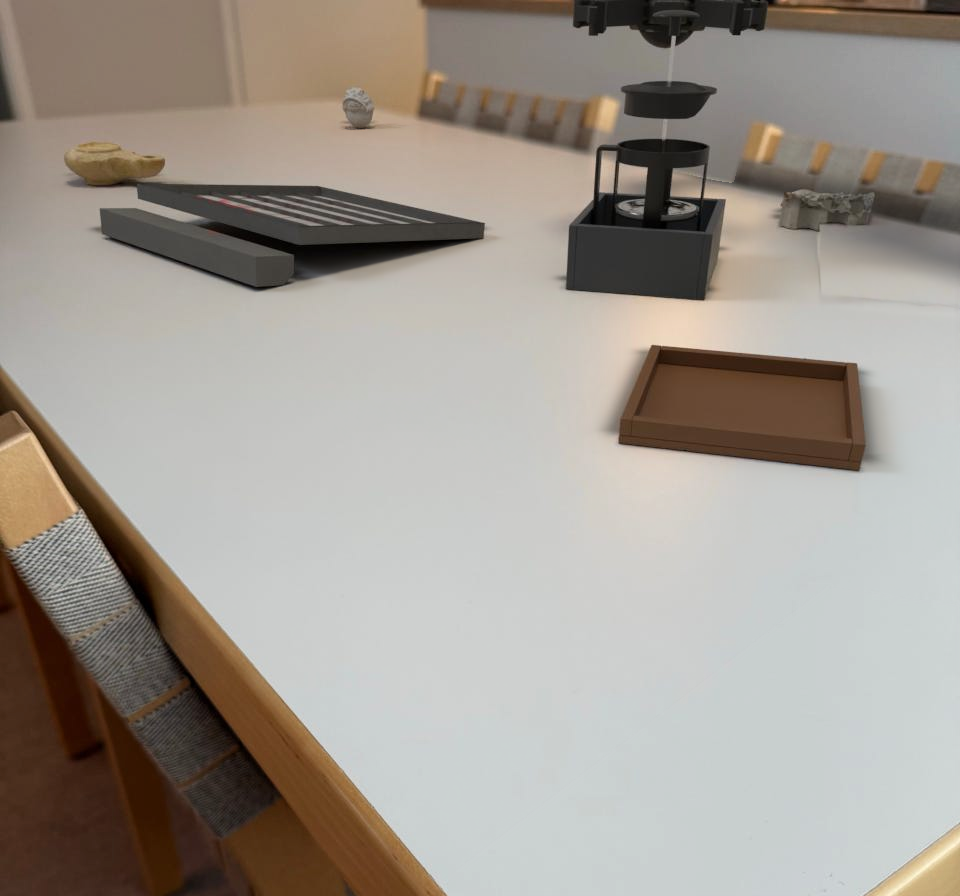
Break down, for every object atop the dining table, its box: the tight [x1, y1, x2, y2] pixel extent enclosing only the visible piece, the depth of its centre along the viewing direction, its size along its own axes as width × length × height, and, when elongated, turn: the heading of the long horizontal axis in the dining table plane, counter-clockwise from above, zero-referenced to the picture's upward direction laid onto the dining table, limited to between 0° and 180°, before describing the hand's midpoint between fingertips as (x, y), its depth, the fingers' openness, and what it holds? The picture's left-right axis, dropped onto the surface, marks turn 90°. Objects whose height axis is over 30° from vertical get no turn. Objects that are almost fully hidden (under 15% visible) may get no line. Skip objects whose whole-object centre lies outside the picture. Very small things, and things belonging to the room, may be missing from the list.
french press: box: [592, 10, 718, 231], centre depth 93 cm, size 12×9×23 cm
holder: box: [565, 191, 727, 301], centre depth 98 cm, size 14×17×6 cm
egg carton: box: [778, 188, 875, 232], centre depth 117 cm, size 11×8×4 cm
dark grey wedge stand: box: [99, 183, 486, 288], centre depth 112 cm, size 32×7×31 cm
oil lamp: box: [63, 141, 166, 186], centre depth 139 cm, size 11×14×5 cm
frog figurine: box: [341, 86, 375, 129], centre depth 184 cm, size 6×7×7 cm
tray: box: [617, 344, 867, 471], centre depth 69 cm, size 16×16×2 cm
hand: (668, 18), depth 95 cm, fingers open, 13 cm apart
